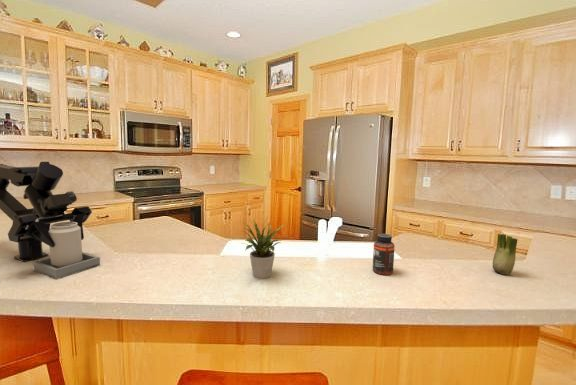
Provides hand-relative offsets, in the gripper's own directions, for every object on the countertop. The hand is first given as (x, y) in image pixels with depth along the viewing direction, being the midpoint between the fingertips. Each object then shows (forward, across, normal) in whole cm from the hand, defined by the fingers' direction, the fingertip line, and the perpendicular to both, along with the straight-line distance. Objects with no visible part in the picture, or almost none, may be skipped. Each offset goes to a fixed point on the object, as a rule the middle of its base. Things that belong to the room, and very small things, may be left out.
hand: (68, 242), depth 87 cm
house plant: (+41, +21, -30) cm, 55 cm away
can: (+4, 0, +6) cm, 7 cm away
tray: (+5, 0, +6) cm, 8 cm away
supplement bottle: (+63, +41, -53) cm, 92 cm away
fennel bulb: (+86, +57, -76) cm, 128 cm away
